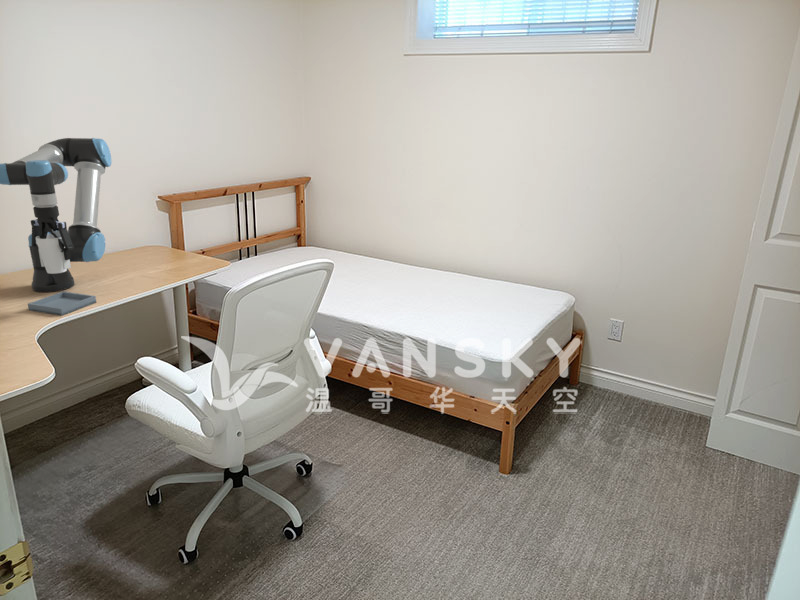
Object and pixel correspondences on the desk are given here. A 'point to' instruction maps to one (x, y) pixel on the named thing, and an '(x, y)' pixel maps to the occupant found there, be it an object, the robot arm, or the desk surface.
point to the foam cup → (50, 254)
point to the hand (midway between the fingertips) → (56, 267)
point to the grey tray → (62, 303)
